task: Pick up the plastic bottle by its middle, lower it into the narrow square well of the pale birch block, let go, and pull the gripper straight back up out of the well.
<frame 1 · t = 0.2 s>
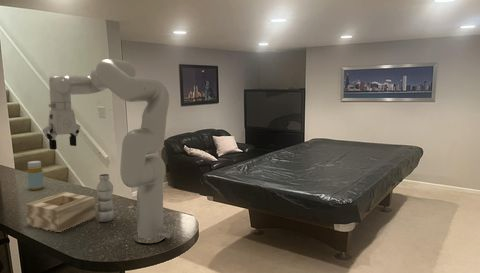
hand: (63, 147, 142), 31 cm above the bar counter, tool pointing down, fingers open, 9 cm apart
well block: (62, 221, 143), on the bar counter
plastic bottle: (105, 221, 144), on the bar counter
bottle: (36, 189, 186), on the bar counter
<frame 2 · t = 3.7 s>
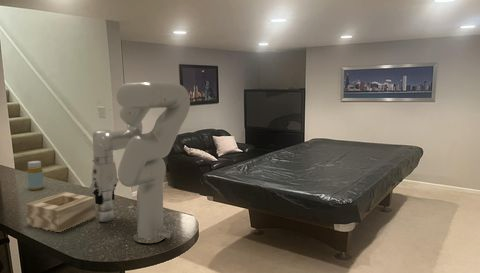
hand: (105, 201, 143), 9 cm above the bar counter, tool pointing down, fingers closed on plastic bottle, 6 cm apart
plastic bottle: (105, 221, 144), on the bar counter, touching gripper
everything else where it was.
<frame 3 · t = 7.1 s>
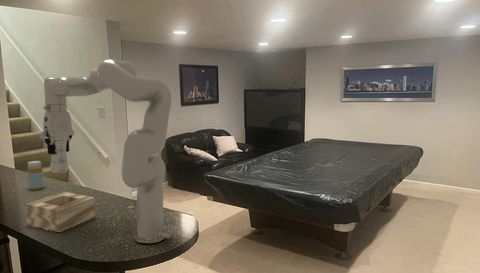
hand: (58, 152, 139), 29 cm above the bar counter, tool pointing down, fingers closed on plastic bottle, 6 cm apart
plastic bottle: (60, 173, 140), point 21 cm above the bar counter, touching gripper
everything else where it was.
when the fingers open (11 cm above the bar counter, at t = 10.7 s): plastic bottle drops 1 cm, resting on well block.
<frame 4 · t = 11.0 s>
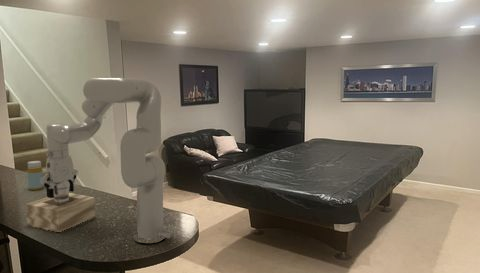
hand: (60, 194, 141), 12 cm above the bar counter, tool pointing down, fingers open, 9 cm apart
plastic bottle: (62, 219, 143), point 1 cm above the bar counter, touching well block
everything else where it was.
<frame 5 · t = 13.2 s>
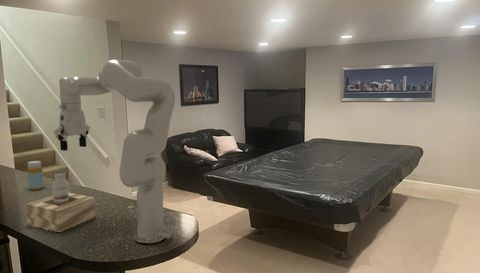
hand: (73, 148, 143), 30 cm above the bar counter, tool pointing down, fingers open, 9 cm apart
nothing on the bar counter moved.
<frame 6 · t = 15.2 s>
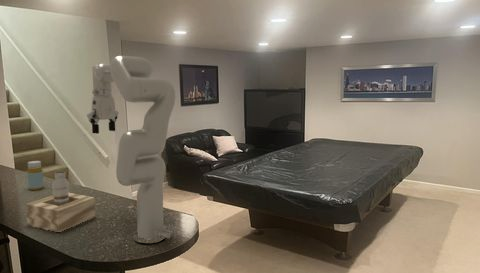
hand: (104, 132, 151), 36 cm above the bar counter, tool pointing down, fingers open, 9 cm apart
nothing on the bar counter moved.
at the end: plastic bottle 0.1 cm off-centre on the well block, point 0.8 cm above the well block's base; plastic bottle tilted 0°; the gripper is holding nothing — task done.
